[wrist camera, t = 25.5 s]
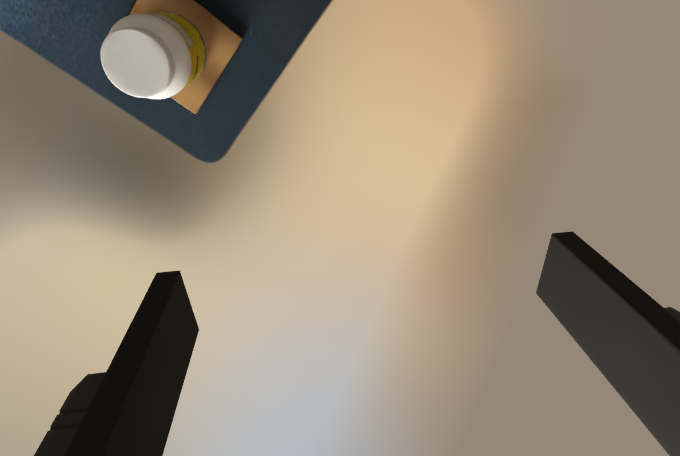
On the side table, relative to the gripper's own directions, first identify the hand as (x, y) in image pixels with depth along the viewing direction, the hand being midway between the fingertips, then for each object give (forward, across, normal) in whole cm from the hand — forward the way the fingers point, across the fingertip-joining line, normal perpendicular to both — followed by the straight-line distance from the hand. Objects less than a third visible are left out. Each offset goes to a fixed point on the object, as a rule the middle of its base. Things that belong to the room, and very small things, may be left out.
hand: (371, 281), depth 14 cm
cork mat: (+32, -14, +6) cm, 35 cm away
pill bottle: (+31, -14, +5) cm, 35 cm away
